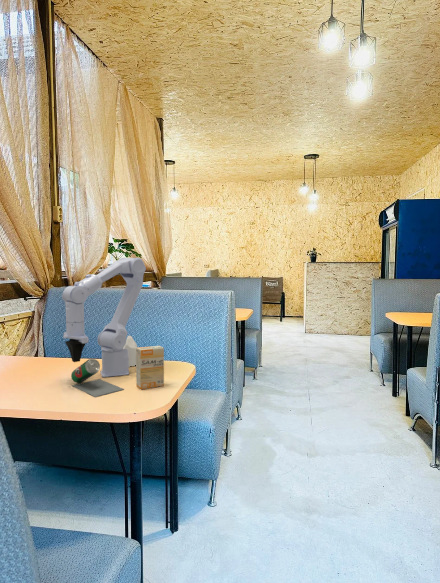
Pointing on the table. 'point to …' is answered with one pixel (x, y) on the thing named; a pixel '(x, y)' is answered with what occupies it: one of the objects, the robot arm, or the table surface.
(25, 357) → the table surface
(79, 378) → the soda can
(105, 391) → the mat
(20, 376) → the table surface
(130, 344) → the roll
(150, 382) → the supplement box
